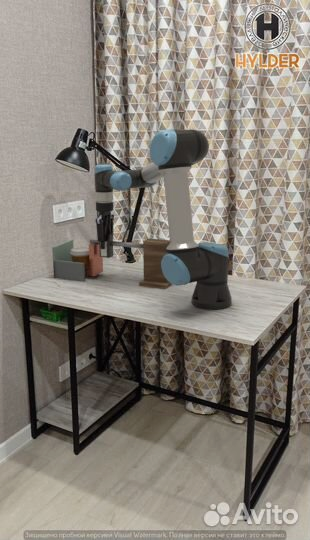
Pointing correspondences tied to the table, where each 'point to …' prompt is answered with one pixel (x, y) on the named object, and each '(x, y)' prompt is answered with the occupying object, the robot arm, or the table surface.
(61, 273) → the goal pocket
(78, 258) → the disposable coffee cup
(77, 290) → the table surface
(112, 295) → the table surface
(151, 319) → the table surface
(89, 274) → the player rod
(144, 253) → the brown wooden flanged block
